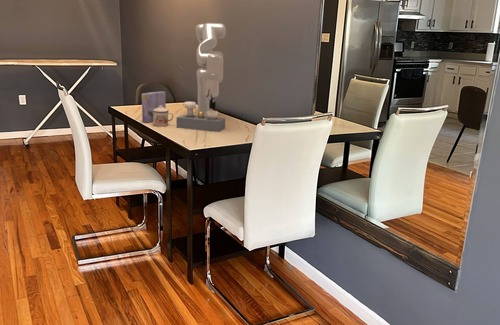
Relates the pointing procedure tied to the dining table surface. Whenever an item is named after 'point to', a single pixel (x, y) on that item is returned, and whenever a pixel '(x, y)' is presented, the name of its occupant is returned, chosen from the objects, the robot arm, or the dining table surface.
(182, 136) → the dining table surface
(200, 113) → the brass ball
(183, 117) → the mount
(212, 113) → the ivory knob
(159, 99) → the cake pan box
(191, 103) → the ivory knob
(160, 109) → the teacup with lid
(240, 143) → the dining table surface
